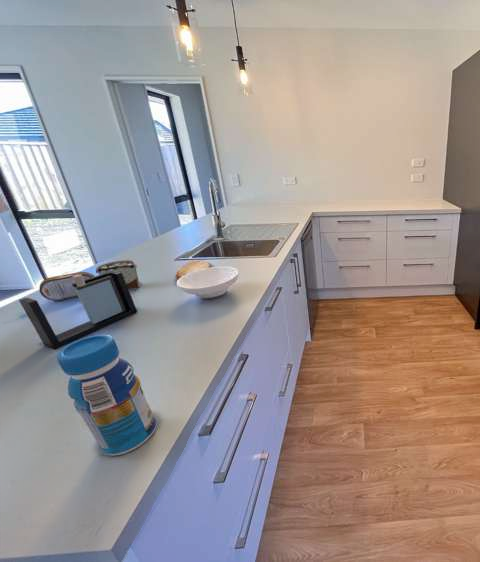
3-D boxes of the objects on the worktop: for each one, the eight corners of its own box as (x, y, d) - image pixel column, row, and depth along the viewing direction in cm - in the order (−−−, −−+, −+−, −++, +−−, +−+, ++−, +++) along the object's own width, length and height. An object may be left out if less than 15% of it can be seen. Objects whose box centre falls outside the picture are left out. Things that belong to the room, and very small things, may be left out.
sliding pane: (94, 324, 87) (72, 277, 81) (91, 323, 88) (69, 277, 82) (126, 310, 94) (108, 266, 88) (123, 309, 95) (104, 266, 89)
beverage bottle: (87, 454, 51) (30, 361, 43) (131, 414, 59) (89, 328, 51) (130, 461, 50) (79, 366, 42) (169, 419, 58) (133, 332, 49)
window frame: (54, 349, 79) (28, 303, 73) (44, 345, 81) (18, 299, 75) (137, 312, 97) (121, 272, 91) (127, 309, 99) (111, 270, 93)
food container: (148, 281, 120) (140, 257, 116) (144, 287, 115) (135, 263, 110) (111, 286, 116) (101, 262, 112) (104, 293, 111) (93, 268, 106)
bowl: (168, 303, 102) (162, 284, 99) (212, 280, 119) (208, 264, 116) (214, 310, 97) (209, 291, 94) (253, 285, 114) (250, 269, 111)
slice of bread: (198, 263, 138) (196, 255, 136) (226, 268, 131) (224, 260, 129) (159, 277, 123) (156, 269, 122) (187, 284, 116) (184, 275, 114)
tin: (101, 289, 114) (92, 268, 111) (101, 291, 112) (92, 271, 108) (46, 301, 105) (34, 279, 102) (45, 304, 103) (33, 282, 100)
